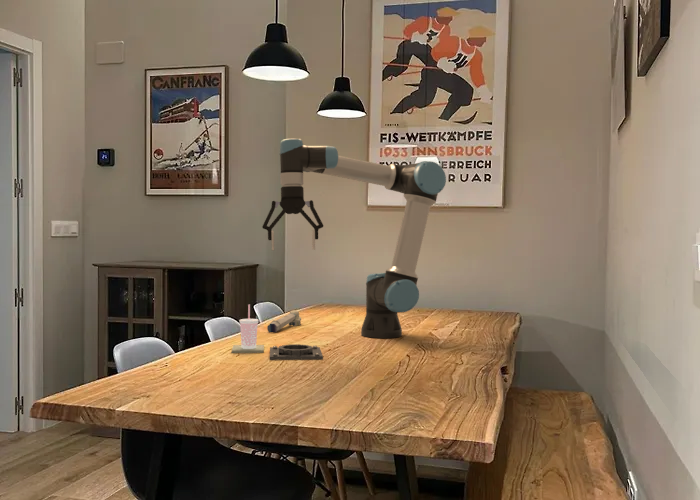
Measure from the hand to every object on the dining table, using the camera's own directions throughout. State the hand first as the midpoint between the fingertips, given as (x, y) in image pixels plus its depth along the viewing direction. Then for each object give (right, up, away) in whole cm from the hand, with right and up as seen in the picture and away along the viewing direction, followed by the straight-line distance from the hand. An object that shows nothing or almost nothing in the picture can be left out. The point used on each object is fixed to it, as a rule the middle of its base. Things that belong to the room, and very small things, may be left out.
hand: (293, 250), depth 232 cm
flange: (+2, -33, -15) cm, 36 cm away
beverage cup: (-14, -32, -8) cm, 35 cm away
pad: (-14, -32, -7) cm, 36 cm away
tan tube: (-7, -31, +42) cm, 52 cm away
